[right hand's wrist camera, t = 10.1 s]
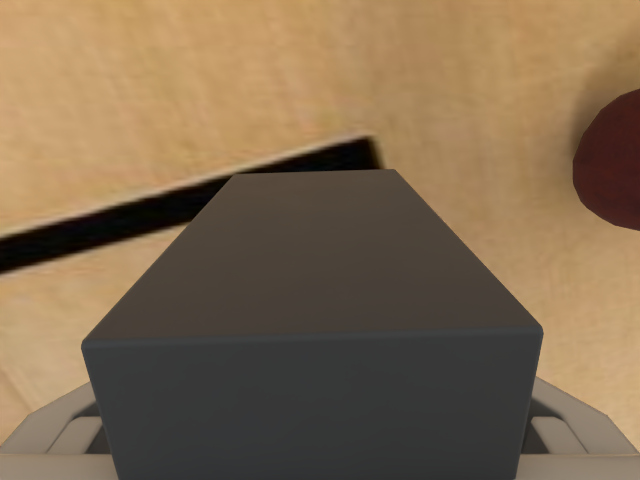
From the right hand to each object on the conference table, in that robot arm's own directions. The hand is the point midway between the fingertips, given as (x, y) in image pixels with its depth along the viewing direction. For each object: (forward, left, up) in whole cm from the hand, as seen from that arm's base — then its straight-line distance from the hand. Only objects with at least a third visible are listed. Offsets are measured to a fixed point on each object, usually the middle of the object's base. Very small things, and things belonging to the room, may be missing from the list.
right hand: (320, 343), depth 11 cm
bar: (+6, -5, -3) cm, 8 cm away
